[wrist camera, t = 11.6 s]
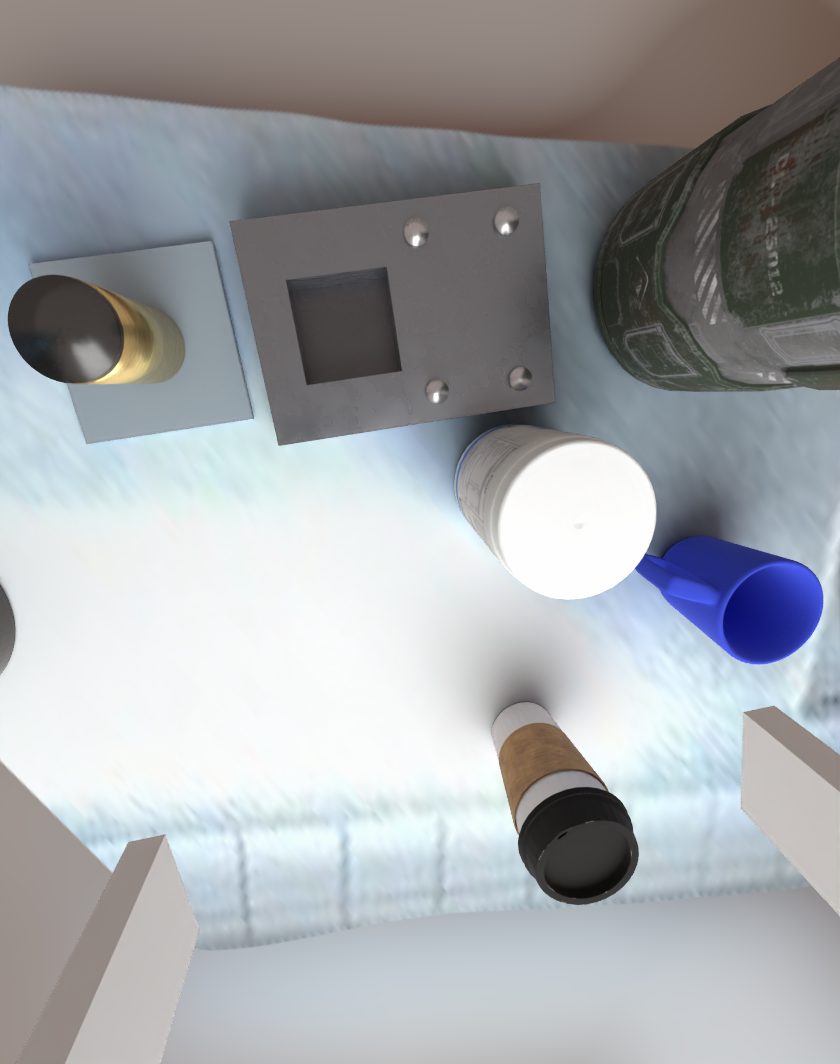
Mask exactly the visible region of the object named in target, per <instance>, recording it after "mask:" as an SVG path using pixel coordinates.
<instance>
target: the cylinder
mask: <svg viewBox="0 0 840 1064" xmlns="http://www.w3.org/2000/svg"><path fill="white" fill-rule="evenodd" d="M8 327H9V332H10V336H11V338H12V341H13V343H14V345H15V347H16V349H17V351H18V352H19V354H20V355H21V356H22V358H23V359H24V360H25V361H26V362H27V363H28V364H29V365H30V366H31V367H32V368H34V369H35V370H36V371H38V372H39V373H41V374H42V375H44V376H46V377H48V378H50V379H53V380H56V381H59V382H64V383H70V384H157V383H162V382H165V381H167V380H169V379H171V378H172V377H173V376H175V375H176V374H177V373H178V371H179V370H180V368H181V367H182V365H183V362H184V359H185V342H184V338H183V335H182V333H181V331H180V329H179V327H178V326H177V325H176V323H175V322H174V321H173V320H172V319H171V318H170V317H169V316H168V315H166V314H165V313H163V312H162V311H160V310H158V309H156V308H153V307H150V306H148V305H145V304H142V303H140V302H137V301H135V300H132V299H129V298H127V297H124V296H122V295H119V294H116V293H114V292H111V291H108V290H106V289H103V288H101V287H98V286H95V285H93V284H90V283H88V282H85V281H82V280H80V279H77V278H73V277H68V276H63V275H44V276H39V277H36V278H34V279H32V280H30V281H28V282H26V283H25V284H24V285H22V286H21V287H20V288H19V289H18V291H17V292H16V293H15V295H14V297H13V299H12V300H11V303H10V306H9V311H8Z"/></svg>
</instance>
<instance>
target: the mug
mask: <svg viewBox="0 0 840 1064" xmlns="http://www.w3.org/2000/svg"><path fill="white" fill-rule="evenodd" d="M635 569H636V570H637V572H638V573H640V574H641V575H642V576H643V577H644V578H646V579H647V580H648V581H650V582H651V583H652V584H654V585H655V586H656V587H658V588H659V589H660V591H661V593H662V595H663V596H664V598H665V599H666V600H667V601H668V602H669V603H670V604H671V605H672V606H673V607H674V608H675V609H677V610H678V611H679V612H680V613H681V614H682V615H684V616H685V617H686V618H687V619H688V620H690V621H691V622H692V623H693V624H694V625H695V626H697V627H698V628H699V629H700V630H701V631H703V632H704V633H705V634H706V635H707V636H708V637H710V638H711V639H712V640H713V641H714V642H716V643H717V644H718V645H719V646H720V647H721V648H723V649H724V650H725V651H726V652H727V653H729V654H730V655H731V656H732V657H734V658H736V659H737V660H740V661H742V662H745V663H750V664H768V663H772V662H775V661H778V660H781V659H783V658H785V657H787V656H789V655H791V654H792V653H794V652H795V651H796V650H798V649H799V648H800V647H801V646H802V645H803V644H804V643H805V642H806V641H807V640H808V639H809V638H810V636H811V635H812V633H813V632H814V630H815V628H816V627H817V625H818V622H819V620H820V617H821V614H822V609H823V592H822V587H821V584H820V582H819V580H818V578H817V577H816V575H815V574H814V573H813V572H812V571H811V570H810V569H809V568H808V567H806V566H805V565H803V564H801V563H799V562H797V561H794V560H790V559H787V558H783V557H780V556H776V555H773V554H769V553H766V552H762V551H759V550H755V549H752V548H748V547H745V546H741V545H738V544H734V543H731V542H727V541H724V540H720V539H716V538H712V537H706V536H696V537H690V538H686V539H684V540H681V541H679V542H678V543H676V544H675V545H673V546H672V547H671V548H670V549H669V550H668V551H667V552H666V554H665V555H664V557H663V558H659V557H656V556H652V555H648V554H644V556H643V558H642V559H641V561H640V562H639V563H638V565H637V566H636V567H635Z"/></svg>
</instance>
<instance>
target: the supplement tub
mask: <svg viewBox="0 0 840 1064" xmlns="http://www.w3.org/2000/svg"><path fill="white" fill-rule="evenodd" d="M454 490H455V497H456V501H457V504H458V506H459V508H460V511H461V512H462V514H463V516H464V517H465V519H466V520H467V521H468V523H469V524H470V525H471V526H472V528H473V529H474V530H475V531H476V533H477V534H478V535H479V536H480V538H481V539H482V540H483V541H484V543H485V544H486V545H487V546H488V548H489V549H490V550H491V551H492V553H493V554H494V555H495V556H496V558H497V559H498V560H499V561H500V562H501V563H502V565H503V566H504V567H505V568H506V569H507V571H508V572H509V573H510V574H511V575H512V576H514V577H515V578H516V579H518V580H519V581H520V582H522V583H523V584H524V585H526V586H527V587H529V588H530V589H532V590H534V591H536V592H538V593H540V594H542V595H545V596H548V597H552V598H557V599H580V598H586V597H590V596H594V595H596V594H599V593H601V592H604V591H606V590H608V589H610V588H612V587H613V586H615V585H616V584H618V583H619V582H620V581H622V580H623V579H624V578H625V577H626V576H628V575H629V574H630V573H631V572H632V571H633V569H634V568H635V567H636V566H637V565H638V563H639V562H640V561H641V559H642V558H643V556H644V554H645V553H646V551H647V549H648V547H649V545H650V542H651V540H652V537H653V533H654V529H655V524H656V499H655V494H654V490H653V487H652V484H651V482H650V480H649V477H648V476H647V474H646V472H645V471H644V469H643V468H642V467H641V465H640V464H639V463H638V462H637V461H636V460H635V459H634V458H633V457H632V456H631V455H629V454H628V453H627V452H625V451H624V450H622V449H620V448H618V447H616V446H614V445H612V444H610V443H608V442H606V441H603V440H600V439H598V438H594V437H589V436H585V435H579V434H574V433H568V432H562V431H556V430H551V429H546V428H540V427H535V426H530V425H523V424H505V425H501V426H497V427H494V428H492V429H490V430H488V431H486V432H484V433H482V434H481V435H480V436H478V437H477V438H476V439H475V440H474V441H473V442H472V443H471V444H470V445H469V446H468V447H467V448H466V450H465V451H464V453H463V454H462V456H461V458H460V460H459V463H458V465H457V468H456V473H455V481H454Z"/></svg>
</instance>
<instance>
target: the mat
mask: <svg viewBox="0 0 840 1064" xmlns="http://www.w3.org/2000/svg"><path fill="white" fill-rule="evenodd" d="M29 267H30V270H31V273H32V276H33V279H34V278H36V277H39V276H44V275H63V276H68V277H73V278H77V279H80V280H82V281H85V282H88V283H90V284H93V285H95V286H98V287H101V288H103V289H106V290H108V291H111V292H114V293H116V294H119V295H122V296H124V297H127V298H129V299H132V300H135V301H137V302H140V303H142V304H145V305H148V306H150V307H153V308H156V309H158V310H160V311H162V312H163V313H165V314H166V315H168V316H169V317H170V318H171V319H172V320H173V321H174V322H175V323H176V325H177V326H178V327H179V329H180V331H181V333H182V335H183V338H184V342H185V359H184V362H183V365H182V367H181V368H180V370H179V371H178V373H177V374H176V375H175V376H173V377H172V378H171V379H169V380H167V381H165V382H162V383H157V384H70V383H67V385H68V388H69V391H70V394H71V397H72V401H73V404H74V407H75V410H76V413H77V416H78V419H79V422H80V425H81V429H82V432H83V435H84V438H85V441H86V444H90V443H97V442H103V441H110V440H117V439H123V438H130V437H136V436H143V435H149V434H156V433H162V432H169V431H176V430H182V429H189V428H195V427H202V426H208V425H215V424H222V423H228V422H235V421H241V420H248V419H254V416H253V412H252V408H251V403H250V399H249V395H248V390H247V386H246V381H245V377H244V373H243V368H242V364H241V360H240V355H239V351H238V347H237V342H236V338H235V333H234V329H233V325H232V320H231V316H230V312H229V307H228V303H227V298H226V294H225V290H224V285H223V281H222V277H221V272H220V268H219V264H218V259H217V255H216V250H215V246H214V243H213V242H212V241H207V242H199V243H191V244H183V245H175V246H167V247H159V248H151V249H143V250H135V251H127V252H119V253H111V254H103V255H96V256H88V257H80V258H72V259H64V260H56V261H48V262H40V263H32V264H29Z"/></svg>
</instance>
